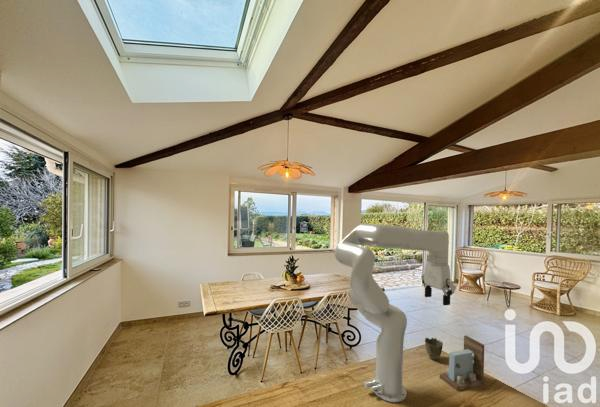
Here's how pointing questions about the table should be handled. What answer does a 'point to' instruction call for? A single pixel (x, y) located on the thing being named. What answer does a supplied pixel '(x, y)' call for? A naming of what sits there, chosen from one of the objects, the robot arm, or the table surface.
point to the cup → (433, 348)
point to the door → (460, 363)
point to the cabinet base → (478, 367)
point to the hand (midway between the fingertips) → (436, 300)
